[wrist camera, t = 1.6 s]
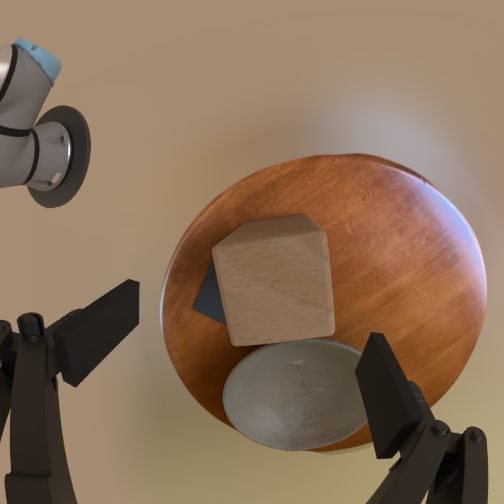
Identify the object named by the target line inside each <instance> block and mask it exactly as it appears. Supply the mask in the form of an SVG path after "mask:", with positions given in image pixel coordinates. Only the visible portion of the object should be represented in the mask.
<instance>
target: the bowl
mask: <svg viewBox="0 0 504 504" xmlns="http://www.w3.org/2000/svg"><path fill="white" fill-rule="evenodd" d="M361 355H362V353H361V352H360V351H359V350H357V349H356V348H354V347H352V346H350V345H348V344H346V343H343V342H341V341H337V340H334V339H330V338H324V337H317V338H310V339H303V340H295V341H286V342H278V343H268V344H266V345H264V346H262V347H260V348H258V349H256V350H255V351H253V352H251V353H250V354H249V355H247V356H246V357H245V358H243V359H242V360H241V361H240V362H239V363H238V364H237V365H236V366H235V367H234V369H233V370H232V371H231V373H230V374H229V376H228V378H227V380H226V383H225V386H224V390H223V405H224V410H225V413H226V415H227V417H228V419H229V421H230V422H231V424H232V425H233V426H234V427H235V428H236V429H237V430H238V431H239V432H240V433H241V434H243V435H244V436H246V437H248V438H249V439H251V440H253V441H255V442H257V443H259V444H262V445H265V446H268V447H271V448H275V449H280V450H286V451H303V450H308V449H312V448H318V447H323V446H326V445H330V444H333V443H336V442H339V441H341V440H343V439H345V438H347V437H349V436H350V435H352V434H354V433H355V432H356V431H358V430H359V429H360V428H361V427H363V426H364V425H365V424H366V423H367V421H368V419H367V415H366V411H365V407H364V404H363V400H362V396H361V392H360V389H359V385H358V382H357V378H356V374H355V369H356V367H357V365H358V362H359V360H360V358H361Z"/></svg>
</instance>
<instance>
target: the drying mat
mask: <svg viewBox="0 0 504 504" xmlns="http://www.w3.org/2000/svg"><path fill="white" fill-rule="evenodd" d="M193 309H194V310H196V311H198V312H200V313H202V314H204V315H206V316H209V317H211V318H213V319H215V320H217V321H219V322H221V323H223V324H226V325H227V322H226V317H225V313H224V308H223V303H222V299H221V294H220V289H219V285H218V280H217V275H216V270H215V265H214V260H212V263H211V265H210V268H209V270H208V273H207V275H206V278H205V280H204V283H203V285H202V288H201V290H200V293H199V295H198V298H197V300H196V303H195V305H194V308H193Z"/></svg>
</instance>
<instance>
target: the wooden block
mask: <svg viewBox="0 0 504 504" xmlns="http://www.w3.org/2000/svg"><path fill="white" fill-rule="evenodd" d="M212 255H213V260H214V265H215V270H216V275H217V280H218V285H219V289H220V294H221V299H222V303H223V308H224V313H225V317H226V322H227V326H228V331H229V335H230V339H231V343H232V344H233V346H247V345H258V344H268V343H278V342H286V341H295V340H303V339H310V338H317V337H324V336H330V335H333V334H334V331H335V320H334V306H333V293H332V282H331V272H330V262H329V253H328V244H327V236H326V233H325V232H324V230H323V229H322V228H321V227H319V226H318V225H317V224H316V223H315V222H314V221H313V220H312V219H311V218H310V217H309V216H308V215H307V214H300V215H293V216H286V217H279V218H273V219H266V220H260V221H254V222H247V223H244V224H243V225H241V226H240V227H239V228H237V229H236V230H235V231H234V232H232V233H231V234H230V235H228V236H227V237H226V238H224V239H223V240H222V241H220V242H219V243H218V244H216V245H215V246H214V247H213V248H212Z"/></svg>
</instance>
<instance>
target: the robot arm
mask: <svg viewBox="0 0 504 504" xmlns="http://www.w3.org/2000/svg"><path fill="white" fill-rule="evenodd" d="M60 70H61V62H60V60H59V59H58V58H57V57H55V56H54V55H52V54H51V53H49V52H48V51H46V50H44V49H43V48H41V47H39V46H36V45H35V44H33V43H31V42H29V41H27V40H25V39H22V38H18V39H17V40H16V41H15V42H14V43H13V45H11V44H8V43H6V44H3V45H2V46H0V188H4V187H11V186H18V185H26V186H29V187H31V188H34V189H37V190H40V191H51V190H54V189H56V188H58V187H59V186H60V185H61V184H62V183H63V182H64V180H65V179H66V177H67V175H68V173H69V171H70V168H71V165H72V160H73V152H74V145H73V138H72V135H71V132H70V130H69V129H68V127H67V126H66V125H64V124H63V123H60V122H47V123H44V124H41V125H37V126H34V124H35V121H36V119H37V117H38V114H39V112H40V110H41V108H42V106H43V104H44V101H45V100H46V97H47V95H48V93H49V91H50V90H51V88H52V87H53V86H54V83H55V80H56V78H57V76H58V74H59V72H60ZM33 126H34V127H33ZM139 284H140V282H137V281H134V280H130V279H128V280H126V281H125V282H123V283H122V284H120V285H118V286H117V287H115V288H114V289H112V290H111V291H109V292H108V293H106V294H105V295H103V296H102V297H100V298H99V299H97V300H96V301H94V302H93V303H91V304H90V305H89V306H87V307H86V308H84V309H76V310H74V311H71V312H69V313H68V314H66V315H65V317H64V316H63V317H62V318H61V319H60V320H58V321H56V322H55V323H53V324H52V325H50V326H49V327H47V328H46V329H45V327H44V322H43V317H42V316H41V315H40V314H38V313H33V312H30V313H25V314H22V315H21V316H19V317H18V319H17V324H18V328H19V332H20V334H19V333H16V332H12V328H11V324H10V323H9V322H8V321H5V320H0V441H1V437H2V434H3V430H4V427H5V423H6V420H7V417H8V414H9V411H10V408H11V413H10V458H11V472H10V473H9V474H6V475H5V491H6V499H7V504H77V501H76V497H75V493H74V490H73V486H72V482H71V478H70V473H69V469H68V464H67V459H66V454H65V448H64V442H63V435H62V428H61V419H60V410H59V397H58V381H57V377H56V375H57V374H58V373H59V372H61V374H62V378H63V381H65V382H66V383H68V384H70V385H72V386H73V387H77V386H78V385H79V384H80V383H81V382H82V381H83V380H84V379H85V378H86V377H87V376H88V374H89V373H90V372H91V371H92V370H93V369H94V368H95V367H96V366H97V365H98V364H99V363H100V362H101V361H102V360H103V359H104V358H105V357H106V356H107V355H108V354H109V353H110V352H111V351H112V350H113V349H114V348H115V347H116V346H117V345H118V344H119V343H120V342H121V341H122V340H123V339H124V338H125V337H126V336H127V335H128V334H129V333H130V332H131V331H132V330H133V329H134V328H135V327H136V326H137V325H138V324H139ZM355 374H356V378H357V382H358V385H359V389H360V392H361V396H362V400H363V404H364V407H365V411H366V415H367V419H368V423H369V427H370V431H371V435H372V440H373V444H374V448H375V453H376V457H377V459H388V458H393V456H394V455H395V454H396V453H397V452H398V451H399V452H400V455H401V457H400V458H399V459H398V461H396V463H395V464H394V465H393V466H392V467H391V468H390V469H389V471H390V472H389V474H388V475H387V477H386V478H385V479H384V481H383V482H382V483H381V485H380V486H379V488H378V489H377V490H376V492H375V493H374V494H373V496H372V497H371V498H370V499H369V500H368V502H367V503H366V504H421V502H422V501H423V499H424V497H425V495H426V493H427V491H428V489H429V491H428V496H427V500H426V504H487V503H488V454H487V440H486V436H485V434H484V432H483V431H482V430H481V429H479V428H477V427H473V426H471V427H468V428H467V429H466V430H465V431H464V433H463V434H459V433H453V432H451V430H450V428H449V426H448V425H446V423H444V422H443V421H440V420H435V418H434V416H433V414H432V412H431V410H430V408H429V406H428V403H427V402H426V400H425V398H424V396H423V394H422V392H421V390H420V388H419V387H418V386H417V385H416V384H415V383H414V382H413V381H408V380H407V378H406V376H405V374H404V372H403V370H402V368H401V366H400V365H399V363H398V361H397V359H396V357H395V355H394V353H393V351H392V349H391V347H390V345H389V344H388V342H387V340H386V338H385V336H384V334H382V333H375V332H371V334H370V336H369V339H368V341H367V343H366V346H365V348H364V351H363V353H362V355H361V358H360V360H359V362H358V365H357V367H356V369H355Z"/></svg>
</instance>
